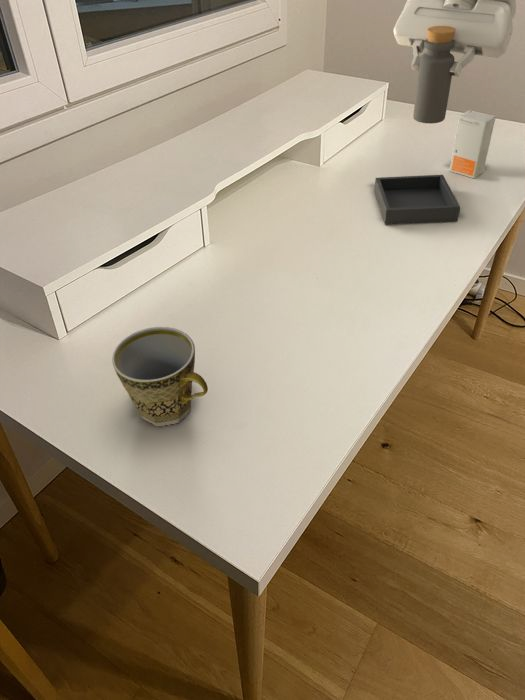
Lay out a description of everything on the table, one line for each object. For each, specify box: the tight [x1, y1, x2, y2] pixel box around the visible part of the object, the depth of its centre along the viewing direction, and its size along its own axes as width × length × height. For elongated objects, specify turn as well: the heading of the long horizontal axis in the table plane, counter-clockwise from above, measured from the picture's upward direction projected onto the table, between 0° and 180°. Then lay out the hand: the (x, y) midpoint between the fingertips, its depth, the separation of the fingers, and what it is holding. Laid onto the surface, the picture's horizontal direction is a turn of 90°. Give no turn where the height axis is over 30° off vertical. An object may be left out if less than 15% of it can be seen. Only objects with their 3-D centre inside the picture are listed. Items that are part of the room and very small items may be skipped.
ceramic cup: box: [111, 326, 209, 427], centre depth 73 cm, size 13×10×10 cm
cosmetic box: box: [449, 109, 496, 180], centre depth 121 cm, size 6×4×12 cm
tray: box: [374, 174, 461, 226], centre depth 114 cm, size 14×14×3 cm
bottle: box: [412, 26, 456, 125], centre depth 104 cm, size 6×6×15 cm
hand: (434, 71), depth 103 cm, fingers closed on bottle, 6 cm apart
